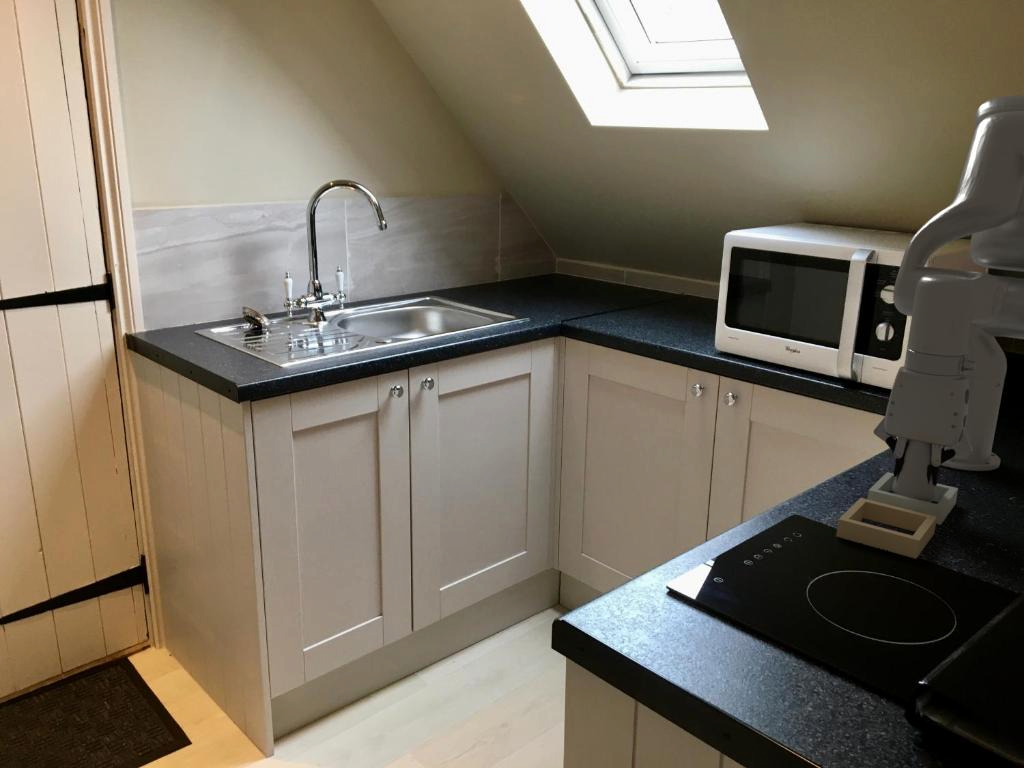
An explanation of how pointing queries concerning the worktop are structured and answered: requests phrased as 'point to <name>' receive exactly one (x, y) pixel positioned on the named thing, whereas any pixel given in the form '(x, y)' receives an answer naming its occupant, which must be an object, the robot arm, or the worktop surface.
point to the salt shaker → (915, 473)
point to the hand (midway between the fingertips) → (914, 484)
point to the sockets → (896, 518)
